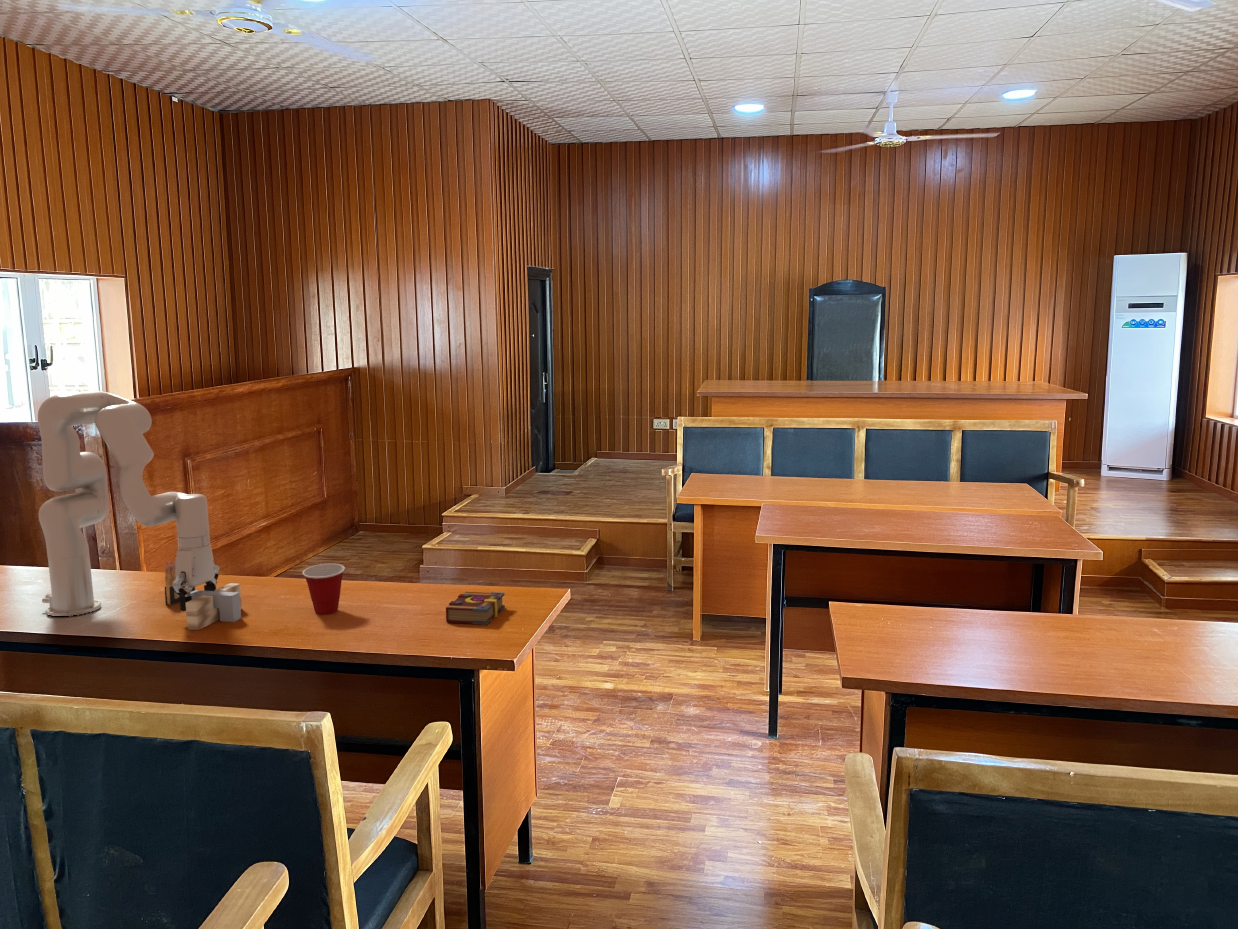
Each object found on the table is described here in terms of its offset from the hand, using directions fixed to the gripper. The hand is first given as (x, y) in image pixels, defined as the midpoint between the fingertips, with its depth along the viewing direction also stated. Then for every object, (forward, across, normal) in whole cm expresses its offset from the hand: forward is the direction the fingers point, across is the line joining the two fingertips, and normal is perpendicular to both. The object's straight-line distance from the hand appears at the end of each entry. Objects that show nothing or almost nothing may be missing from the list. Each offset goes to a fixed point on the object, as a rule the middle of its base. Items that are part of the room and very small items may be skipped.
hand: (198, 605), depth 229 cm
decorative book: (+4, -14, +72) cm, 73 cm away
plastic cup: (+4, -10, +31) cm, 32 cm away
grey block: (+3, 0, +5) cm, 6 cm away
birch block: (+3, 0, +5) cm, 6 cm away
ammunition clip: (+4, -14, -16) cm, 22 cm away
